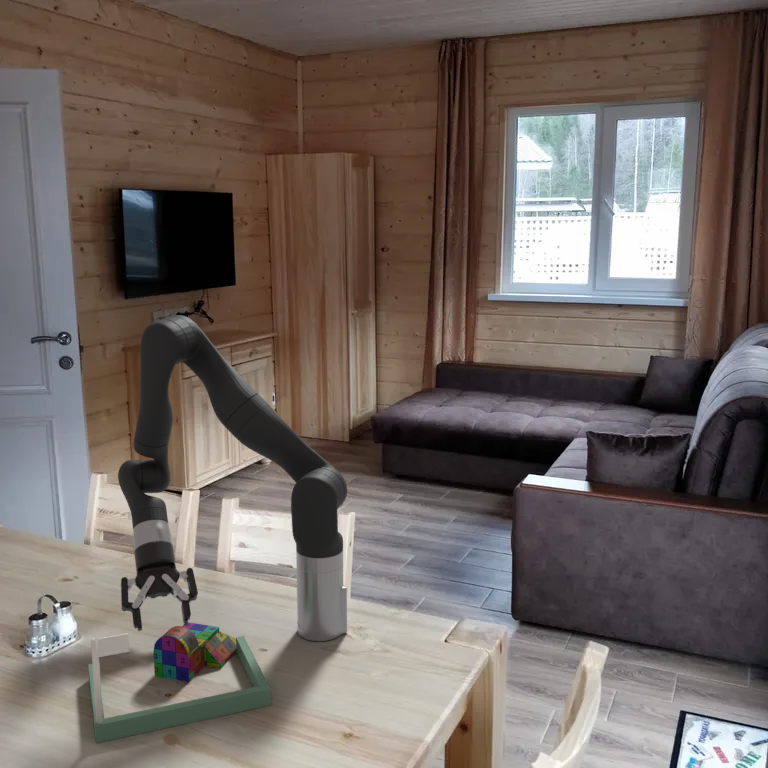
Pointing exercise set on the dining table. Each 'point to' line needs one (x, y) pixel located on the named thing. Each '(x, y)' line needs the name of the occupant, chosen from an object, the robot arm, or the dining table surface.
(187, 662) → the building blocks
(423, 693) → the dining table surface
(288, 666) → the dining table surface
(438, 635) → the dining table surface
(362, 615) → the dining table surface
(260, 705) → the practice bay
